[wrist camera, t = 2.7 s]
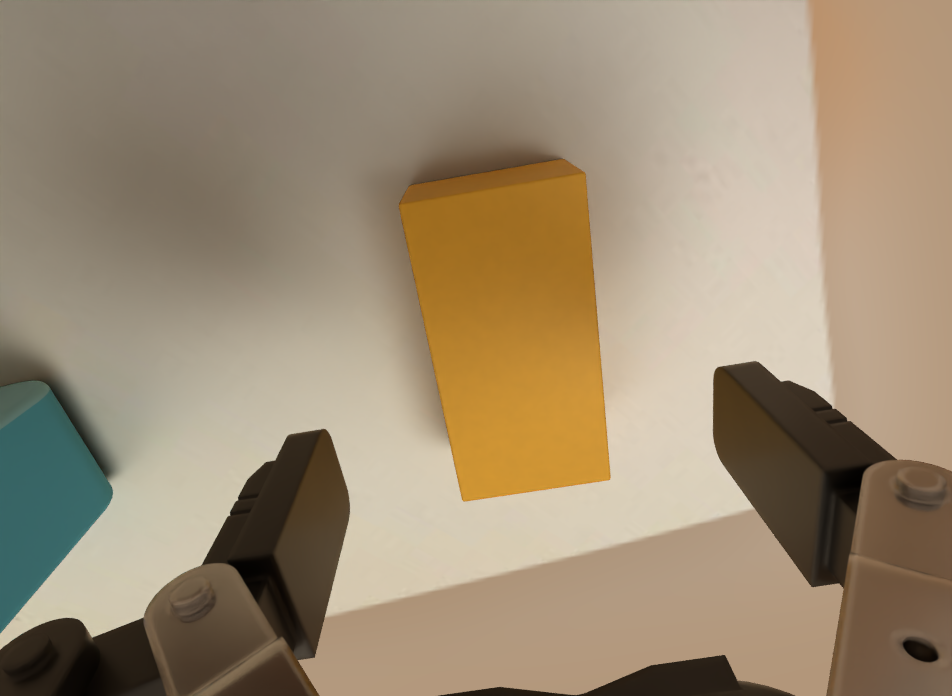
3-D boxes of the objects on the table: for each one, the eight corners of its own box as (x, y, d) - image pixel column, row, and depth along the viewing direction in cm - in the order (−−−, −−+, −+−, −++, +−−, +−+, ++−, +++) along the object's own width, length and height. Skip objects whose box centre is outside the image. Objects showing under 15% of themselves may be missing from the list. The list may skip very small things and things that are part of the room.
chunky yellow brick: (564, 158, 16) (586, 171, 13) (590, 427, 20) (611, 480, 17) (408, 185, 16) (397, 203, 14) (462, 446, 20) (462, 502, 17)
